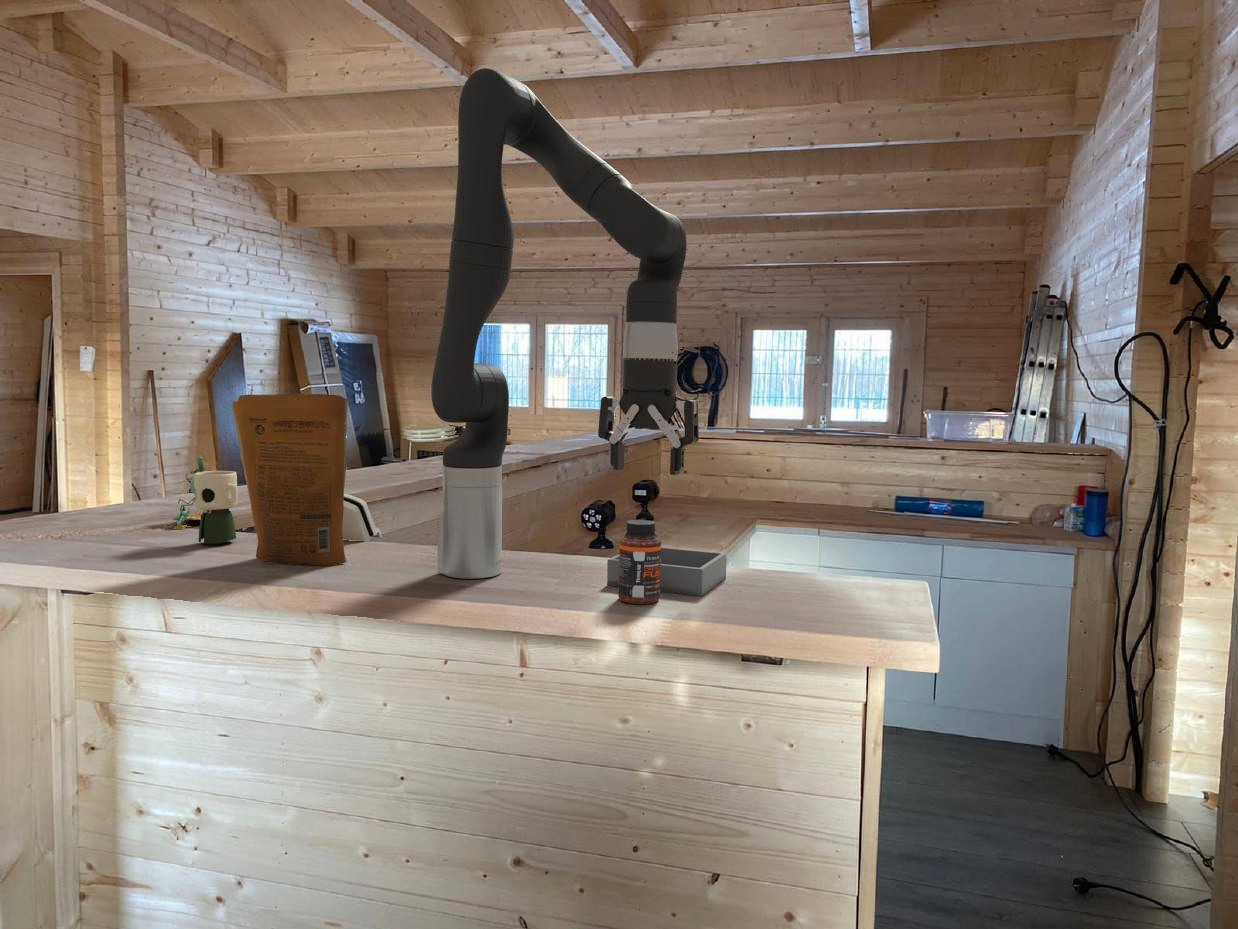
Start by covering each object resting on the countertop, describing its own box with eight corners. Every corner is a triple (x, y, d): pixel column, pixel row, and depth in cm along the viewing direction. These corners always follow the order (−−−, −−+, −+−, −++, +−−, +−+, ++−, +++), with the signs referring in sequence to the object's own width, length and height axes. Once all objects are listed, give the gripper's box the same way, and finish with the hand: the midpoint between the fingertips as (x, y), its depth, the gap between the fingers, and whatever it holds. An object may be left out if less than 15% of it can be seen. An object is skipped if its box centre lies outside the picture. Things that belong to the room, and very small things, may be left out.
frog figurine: (145, 528, 176) (148, 454, 176) (214, 524, 193) (217, 456, 193) (182, 531, 172) (186, 455, 173) (249, 527, 189) (252, 458, 190)
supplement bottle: (647, 607, 121) (649, 526, 120) (610, 601, 124) (611, 522, 123) (667, 598, 126) (668, 520, 125) (630, 593, 129) (632, 516, 128)
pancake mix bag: (340, 570, 141) (337, 394, 138) (233, 563, 145) (228, 392, 142) (360, 561, 148) (358, 394, 145) (257, 555, 151) (253, 391, 148)
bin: (607, 585, 134) (607, 559, 133) (638, 568, 146) (638, 544, 145) (701, 596, 128) (702, 569, 128) (726, 578, 140) (726, 553, 140)
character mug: (180, 543, 160) (178, 472, 159) (215, 537, 166) (213, 469, 165) (219, 550, 155) (217, 476, 154) (254, 543, 161) (252, 473, 160)
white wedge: (383, 537, 170) (371, 490, 165) (368, 549, 166) (356, 502, 162) (315, 530, 176) (302, 485, 172) (299, 541, 172) (285, 495, 168)
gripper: (592, 354, 122) (589, 471, 123) (689, 356, 116) (685, 478, 118) (614, 356, 128) (611, 466, 130) (707, 358, 123) (703, 473, 125)
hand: (646, 472), depth 124 cm, fingers open, 8 cm apart
